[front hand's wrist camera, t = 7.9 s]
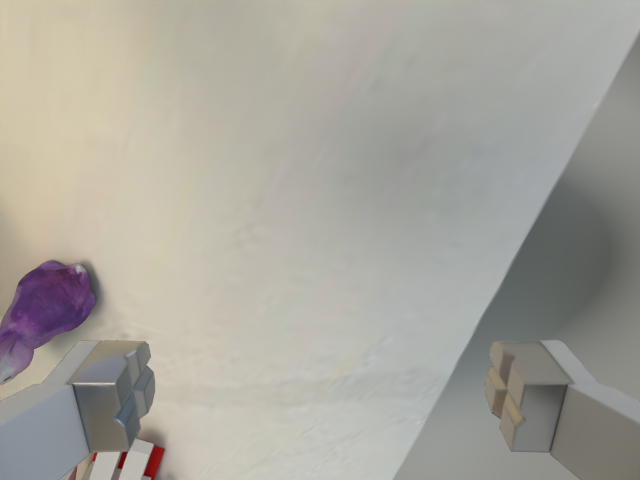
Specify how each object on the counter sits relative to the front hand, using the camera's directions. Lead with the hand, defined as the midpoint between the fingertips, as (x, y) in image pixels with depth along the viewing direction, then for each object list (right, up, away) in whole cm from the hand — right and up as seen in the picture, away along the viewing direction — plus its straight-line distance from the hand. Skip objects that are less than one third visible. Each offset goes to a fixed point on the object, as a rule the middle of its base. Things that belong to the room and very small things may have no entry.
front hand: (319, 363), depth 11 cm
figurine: (-32, -4, +45) cm, 56 cm away
